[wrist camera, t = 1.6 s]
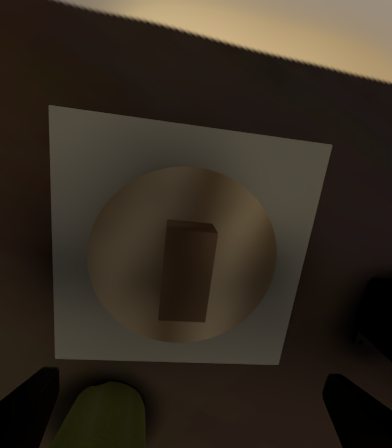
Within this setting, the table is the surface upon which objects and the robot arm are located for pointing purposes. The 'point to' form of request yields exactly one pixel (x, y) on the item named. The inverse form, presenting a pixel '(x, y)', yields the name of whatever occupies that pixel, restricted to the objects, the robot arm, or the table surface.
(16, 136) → the table surface
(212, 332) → the lid
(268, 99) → the table surface
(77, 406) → the plant pot
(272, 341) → the mat
